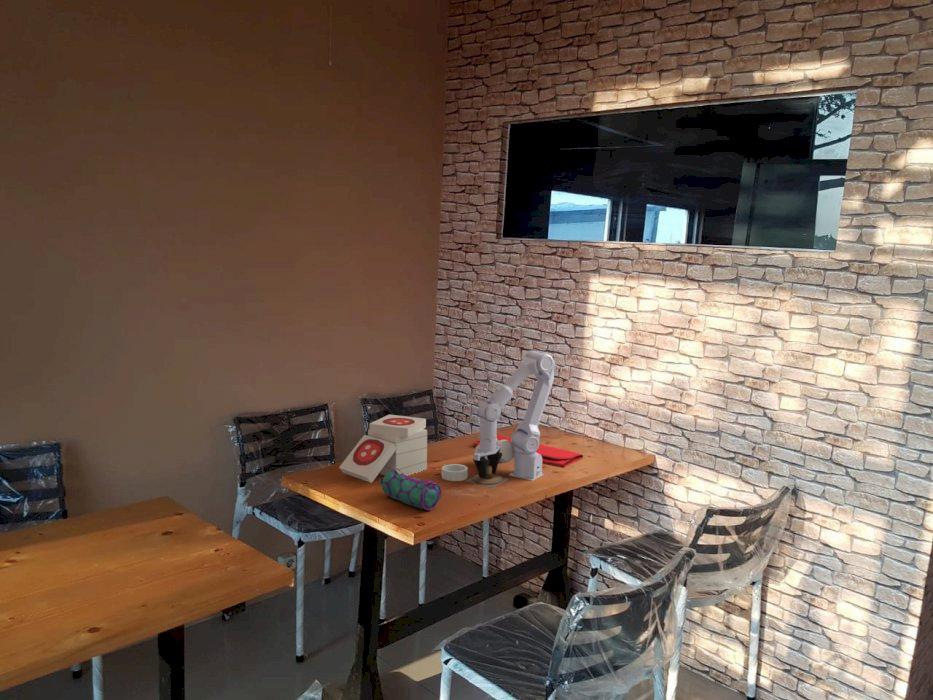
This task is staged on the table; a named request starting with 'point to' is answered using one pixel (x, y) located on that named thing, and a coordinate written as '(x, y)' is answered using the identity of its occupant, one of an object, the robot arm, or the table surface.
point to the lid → (488, 478)
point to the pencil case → (411, 490)
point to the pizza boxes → (389, 448)
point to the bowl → (454, 472)
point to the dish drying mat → (550, 454)
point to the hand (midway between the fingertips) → (487, 475)
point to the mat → (487, 485)
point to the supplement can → (503, 451)
